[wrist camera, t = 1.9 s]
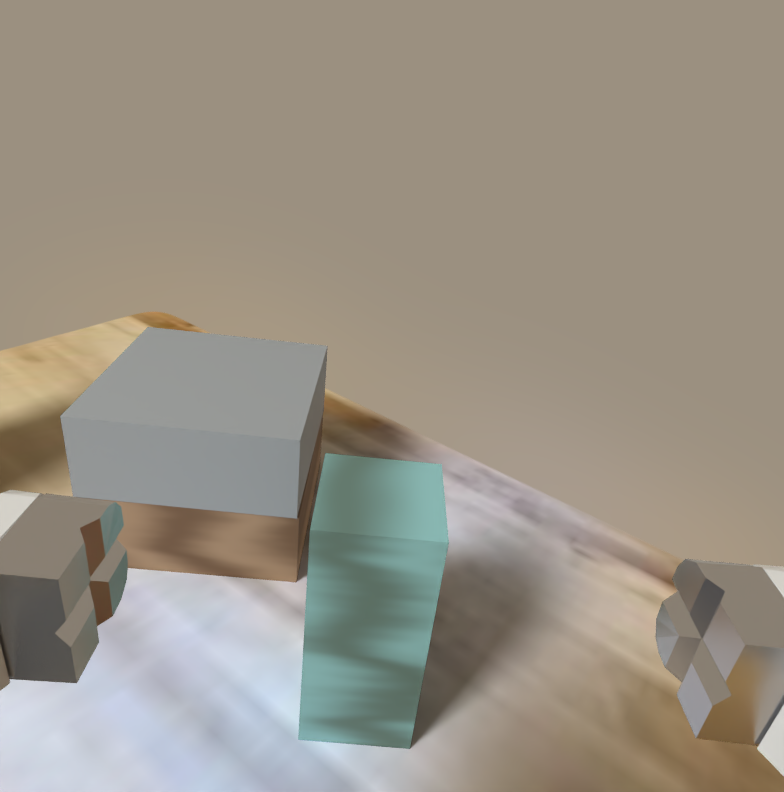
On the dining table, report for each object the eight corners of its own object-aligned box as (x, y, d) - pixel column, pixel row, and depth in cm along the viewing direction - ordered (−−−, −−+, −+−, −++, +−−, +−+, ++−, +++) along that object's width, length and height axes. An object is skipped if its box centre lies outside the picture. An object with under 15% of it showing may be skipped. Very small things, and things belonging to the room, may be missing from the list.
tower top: (323, 410, 45) (327, 345, 43) (296, 518, 34) (300, 440, 32) (153, 393, 45) (147, 326, 42) (73, 496, 34) (60, 416, 32)
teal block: (409, 656, 33) (441, 464, 27) (410, 748, 28) (448, 542, 23) (312, 647, 33) (325, 452, 27) (298, 739, 28) (309, 529, 23)
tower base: (319, 467, 47) (323, 409, 45) (296, 585, 37) (299, 517, 34) (157, 453, 47) (152, 393, 45) (86, 568, 36) (74, 497, 34)
